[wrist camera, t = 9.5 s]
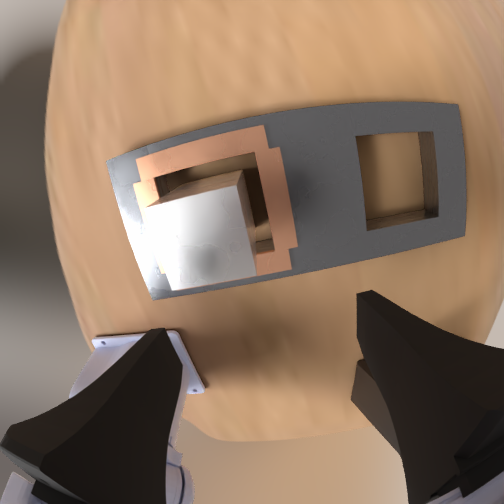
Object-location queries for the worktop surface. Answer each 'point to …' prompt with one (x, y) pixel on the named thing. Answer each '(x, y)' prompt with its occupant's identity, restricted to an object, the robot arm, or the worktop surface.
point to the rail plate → (306, 186)
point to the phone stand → (373, 403)
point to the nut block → (205, 231)
